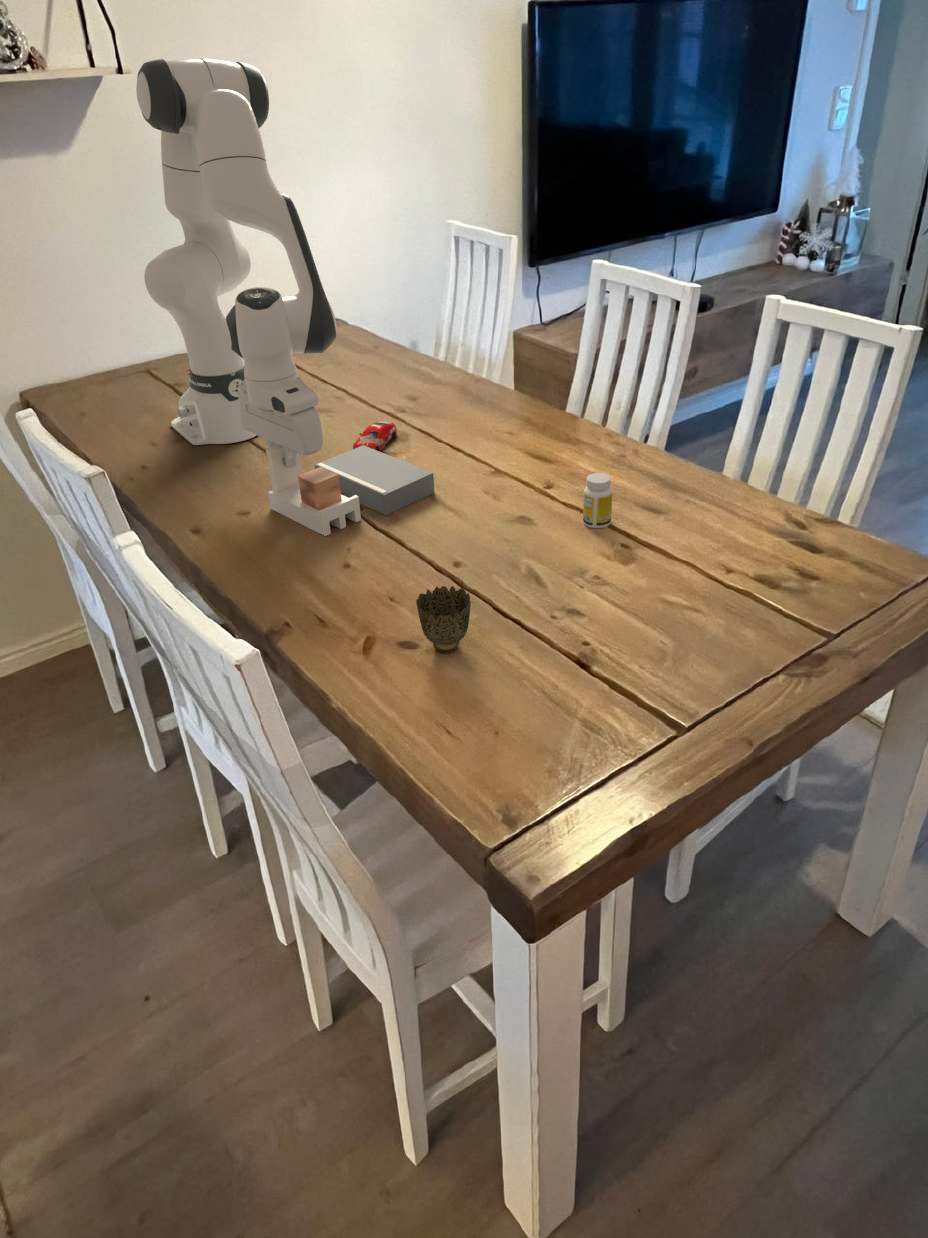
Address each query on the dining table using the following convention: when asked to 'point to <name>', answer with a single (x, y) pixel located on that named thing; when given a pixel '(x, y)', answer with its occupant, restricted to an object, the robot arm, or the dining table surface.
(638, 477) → the dining table surface
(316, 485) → the reddish brown cube
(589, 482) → the supplement bottle
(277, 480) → the white stand
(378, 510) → the block
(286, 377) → the robot arm
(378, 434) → the race car
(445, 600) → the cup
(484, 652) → the dining table surface
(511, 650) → the dining table surface
